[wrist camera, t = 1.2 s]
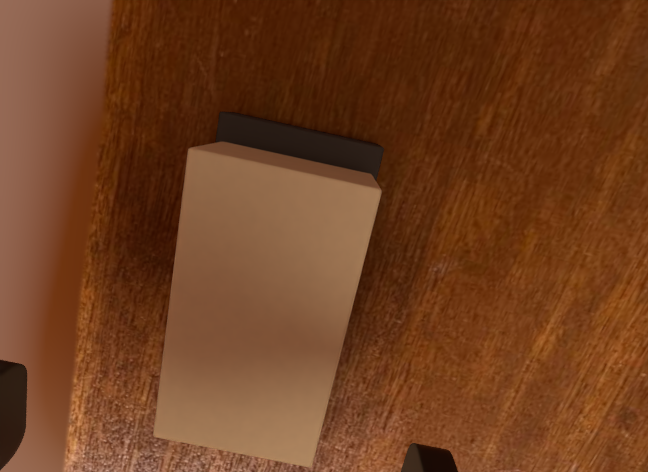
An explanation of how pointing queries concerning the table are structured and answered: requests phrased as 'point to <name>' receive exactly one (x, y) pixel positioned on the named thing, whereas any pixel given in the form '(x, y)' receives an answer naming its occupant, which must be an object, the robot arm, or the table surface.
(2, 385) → the robot arm
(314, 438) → the board eraser
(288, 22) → the table surface
